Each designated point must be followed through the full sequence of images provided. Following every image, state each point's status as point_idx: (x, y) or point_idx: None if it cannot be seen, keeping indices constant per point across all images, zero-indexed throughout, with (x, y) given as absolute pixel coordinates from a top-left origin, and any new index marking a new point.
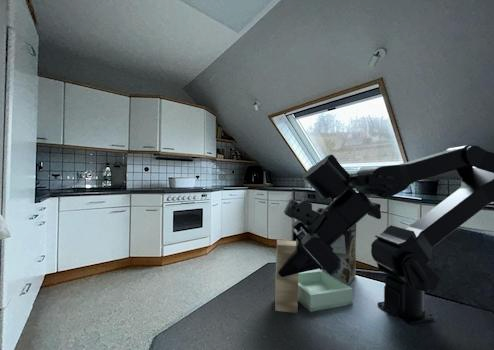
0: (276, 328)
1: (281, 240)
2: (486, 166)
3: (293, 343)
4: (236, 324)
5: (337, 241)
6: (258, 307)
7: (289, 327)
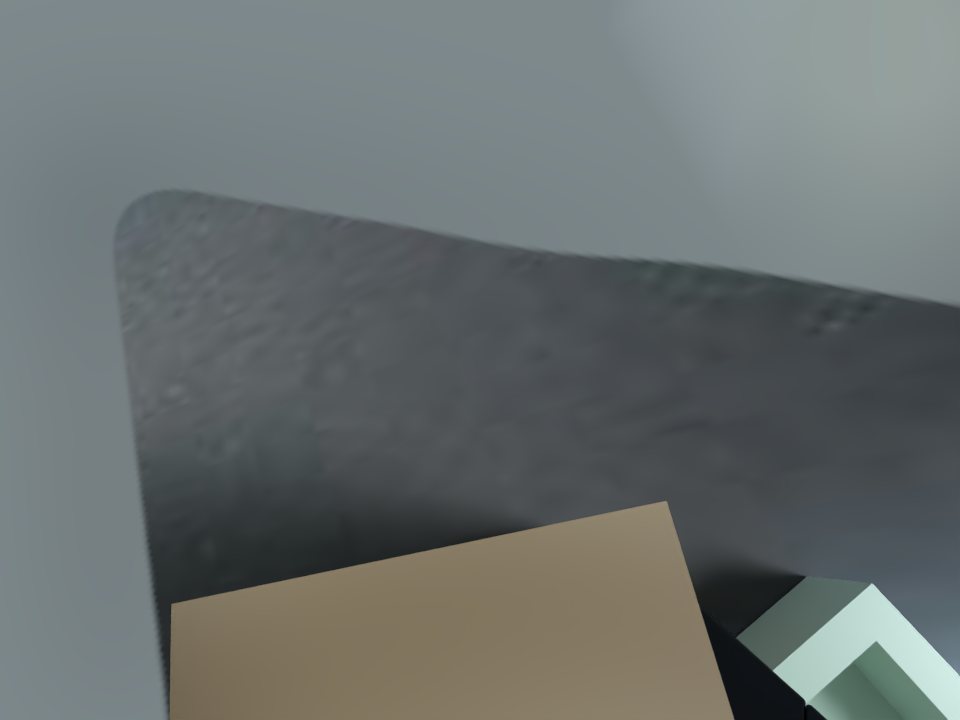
0: None
1: (647, 645)
2: None
3: None
4: (265, 392)
5: None
6: (442, 454)
7: None
